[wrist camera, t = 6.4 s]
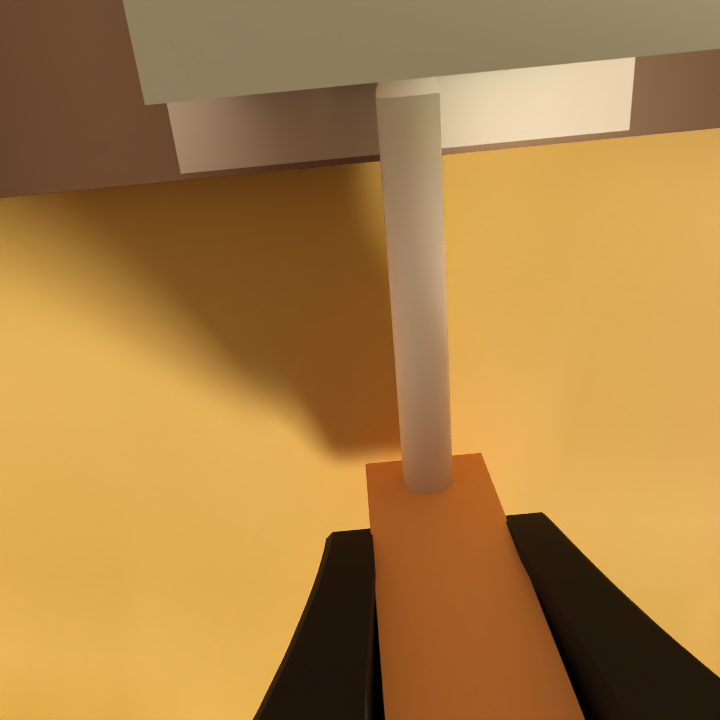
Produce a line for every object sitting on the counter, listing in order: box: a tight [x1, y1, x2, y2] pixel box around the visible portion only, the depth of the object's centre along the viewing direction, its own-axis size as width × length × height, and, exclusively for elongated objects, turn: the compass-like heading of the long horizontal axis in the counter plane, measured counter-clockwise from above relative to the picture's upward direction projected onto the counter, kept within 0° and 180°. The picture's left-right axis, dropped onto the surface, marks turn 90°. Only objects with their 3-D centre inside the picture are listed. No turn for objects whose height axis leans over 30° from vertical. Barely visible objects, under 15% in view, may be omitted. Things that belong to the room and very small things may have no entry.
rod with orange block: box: [123, 0, 720, 720], centre depth 6 cm, size 5×14×5 cm, turn 5°
